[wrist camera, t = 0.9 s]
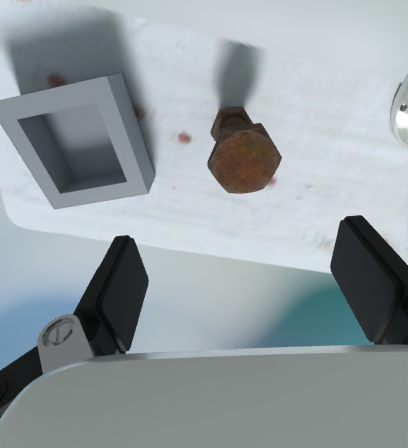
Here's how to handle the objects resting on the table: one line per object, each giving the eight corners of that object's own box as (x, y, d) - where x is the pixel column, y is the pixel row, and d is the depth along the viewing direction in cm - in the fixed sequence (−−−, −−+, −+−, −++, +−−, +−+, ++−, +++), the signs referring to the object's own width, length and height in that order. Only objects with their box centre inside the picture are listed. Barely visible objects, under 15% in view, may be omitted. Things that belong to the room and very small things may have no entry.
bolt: (221, 88, 29) (232, 113, 17) (258, 106, 30) (294, 141, 18) (202, 134, 32) (200, 184, 20) (236, 149, 33) (255, 205, 21)
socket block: (122, 72, 28) (106, 75, 24) (155, 175, 35) (148, 193, 31) (20, 95, 30) (-13, 102, 25) (72, 190, 37) (54, 209, 32)
